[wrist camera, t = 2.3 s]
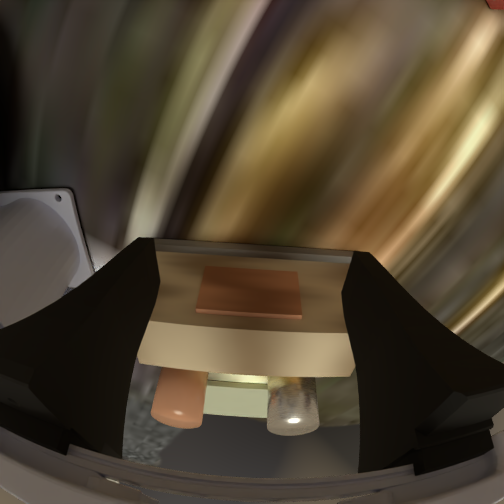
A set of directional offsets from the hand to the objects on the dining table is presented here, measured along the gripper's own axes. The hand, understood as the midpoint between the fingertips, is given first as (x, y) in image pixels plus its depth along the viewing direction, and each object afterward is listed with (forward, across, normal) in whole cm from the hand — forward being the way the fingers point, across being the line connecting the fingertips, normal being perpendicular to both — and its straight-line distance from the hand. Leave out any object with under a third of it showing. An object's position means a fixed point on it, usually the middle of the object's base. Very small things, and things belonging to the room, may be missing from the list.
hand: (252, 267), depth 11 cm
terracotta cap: (+6, +5, +16) cm, 18 cm away
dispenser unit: (+6, 0, +6) cm, 9 cm away
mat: (+6, +1, +23) cm, 24 cm away
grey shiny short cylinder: (+6, -4, +16) cm, 18 cm away
